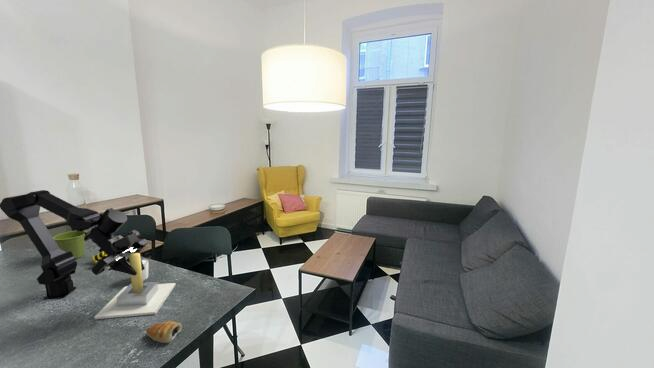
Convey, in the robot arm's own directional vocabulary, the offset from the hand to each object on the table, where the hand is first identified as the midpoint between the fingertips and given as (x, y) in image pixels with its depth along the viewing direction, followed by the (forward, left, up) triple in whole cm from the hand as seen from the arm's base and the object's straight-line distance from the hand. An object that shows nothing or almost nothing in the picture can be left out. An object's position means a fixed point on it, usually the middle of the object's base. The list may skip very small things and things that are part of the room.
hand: (139, 272), depth 94 cm
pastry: (+15, -19, -12) cm, 27 cm away
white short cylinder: (-8, +16, -11) cm, 22 cm away
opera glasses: (-31, +32, -12) cm, 47 cm away
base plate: (-1, 0, -11) cm, 11 cm away
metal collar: (-1, 0, -11) cm, 11 cm away
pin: (-1, 0, -7) cm, 7 cm away
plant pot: (-48, +41, -11) cm, 65 cm away
